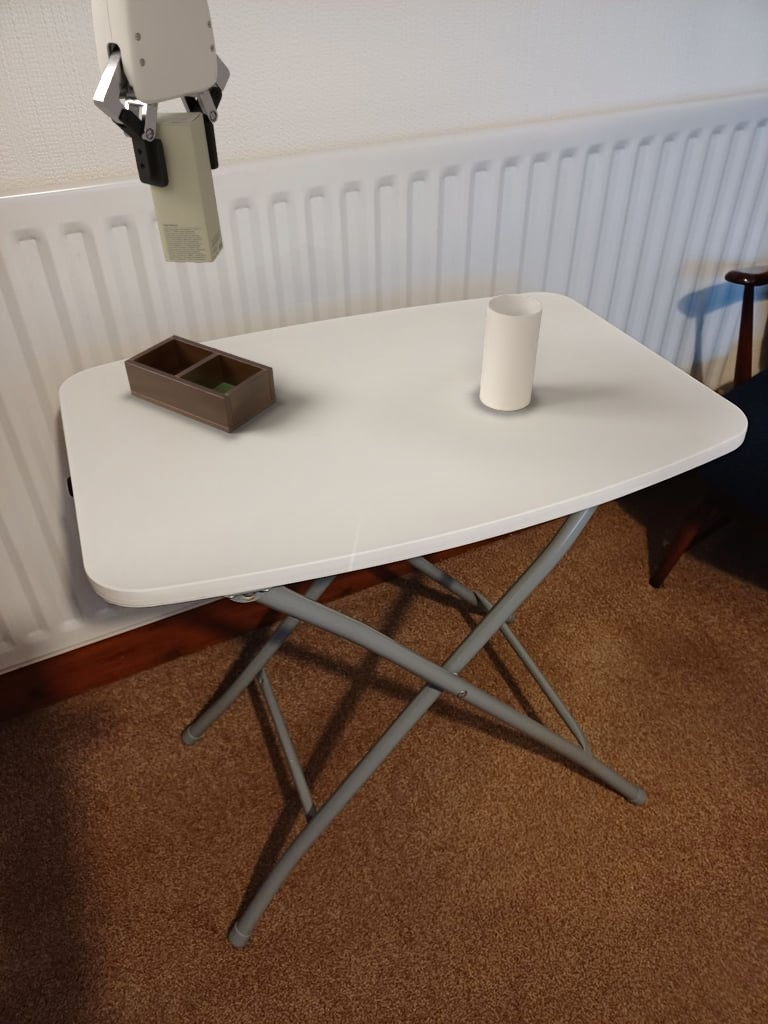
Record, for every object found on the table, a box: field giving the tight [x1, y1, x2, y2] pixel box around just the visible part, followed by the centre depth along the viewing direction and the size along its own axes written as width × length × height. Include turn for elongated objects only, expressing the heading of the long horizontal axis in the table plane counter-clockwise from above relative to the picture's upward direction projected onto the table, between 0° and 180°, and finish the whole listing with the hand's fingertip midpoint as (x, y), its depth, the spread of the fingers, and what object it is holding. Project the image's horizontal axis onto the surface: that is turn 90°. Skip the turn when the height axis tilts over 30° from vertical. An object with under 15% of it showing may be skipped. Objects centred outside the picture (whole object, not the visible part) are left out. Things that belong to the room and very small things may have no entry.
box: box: [149, 111, 224, 264], centre depth 75 cm, size 5×4×13 cm
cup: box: [479, 293, 543, 412], centre depth 92 cm, size 6×6×12 cm
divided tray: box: [123, 334, 277, 434], centre depth 94 cm, size 8×16×5 cm, turn 57°
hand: (180, 173), depth 74 cm, fingers closed on box, 5 cm apart
